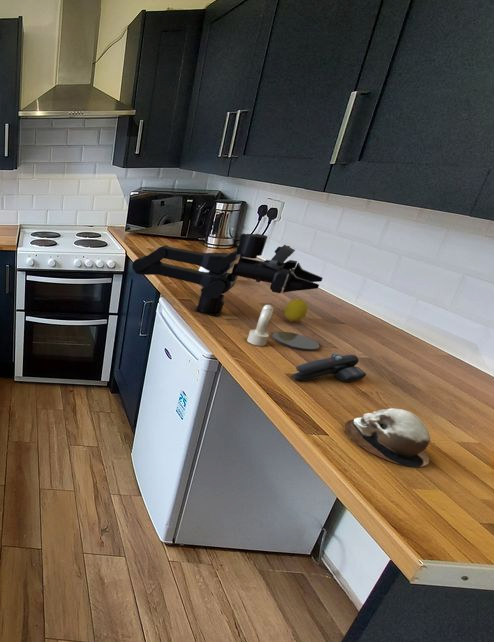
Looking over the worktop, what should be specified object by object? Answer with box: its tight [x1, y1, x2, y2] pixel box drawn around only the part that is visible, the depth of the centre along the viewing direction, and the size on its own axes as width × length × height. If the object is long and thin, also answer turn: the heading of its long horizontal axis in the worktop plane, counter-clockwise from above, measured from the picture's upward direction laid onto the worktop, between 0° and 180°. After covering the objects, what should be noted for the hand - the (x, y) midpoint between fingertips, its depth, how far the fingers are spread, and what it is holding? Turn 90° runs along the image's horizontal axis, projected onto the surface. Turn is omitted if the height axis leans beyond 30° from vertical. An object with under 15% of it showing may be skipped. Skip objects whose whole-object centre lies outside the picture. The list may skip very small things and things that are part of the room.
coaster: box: [271, 331, 320, 352], centre depth 115 cm, size 11×11×1 cm
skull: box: [344, 407, 431, 468], centre depth 75 cm, size 12×10×10 cm
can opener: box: [291, 352, 367, 383], centre depth 96 cm, size 18×7×6 cm, turn 100°
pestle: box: [246, 304, 274, 347], centre depth 111 cm, size 5×5×12 cm
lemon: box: [284, 298, 308, 323], centre depth 127 cm, size 6×6×8 cm
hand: (320, 283), depth 112 cm, fingers open, 9 cm apart
